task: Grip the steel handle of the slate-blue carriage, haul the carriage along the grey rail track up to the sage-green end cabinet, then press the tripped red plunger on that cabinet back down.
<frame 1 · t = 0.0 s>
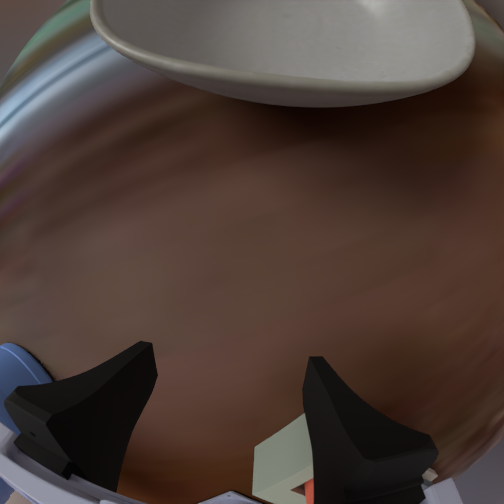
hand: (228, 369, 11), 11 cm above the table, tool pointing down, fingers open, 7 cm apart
decorative bowl: (282, 38, 20), on the table
track: (365, 467, 23), on the table
water jug: (33, 390, 25), on the table
reset plunger: (325, 486, 16), point 7 cm above the table, slide at 0.0 cm
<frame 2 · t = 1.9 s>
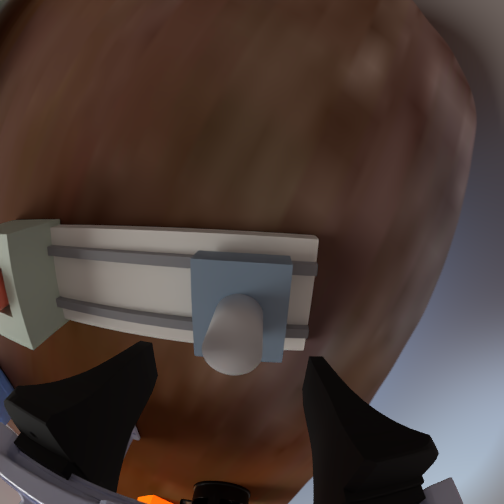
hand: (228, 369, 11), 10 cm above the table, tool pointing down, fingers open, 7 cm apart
track: (117, 277, 21), on the table
french press: (219, 490, 31), on the table
orange juice: (162, 503, 35), on the table
carriage: (237, 323, 16), point 6 cm above the table, slide at 0.0 cm
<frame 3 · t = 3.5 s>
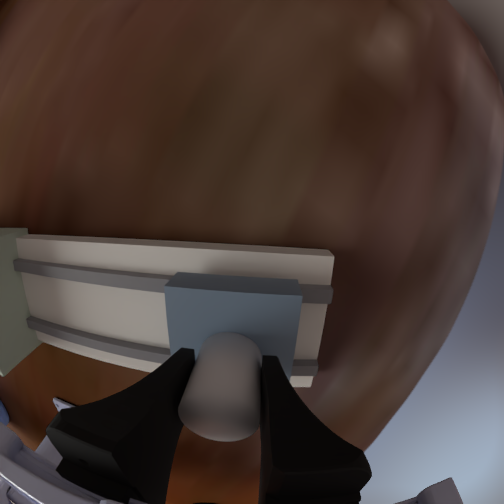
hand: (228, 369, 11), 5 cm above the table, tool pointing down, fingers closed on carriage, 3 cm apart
track: (89, 297, 17), on the table
carriage: (227, 371, 11), point 6 cm above the table, slide at 0.0 cm, touching gripper
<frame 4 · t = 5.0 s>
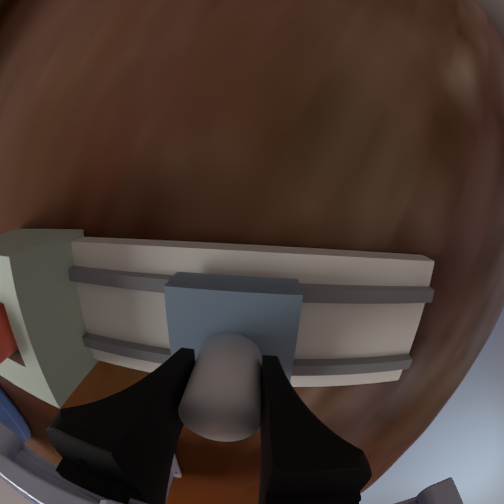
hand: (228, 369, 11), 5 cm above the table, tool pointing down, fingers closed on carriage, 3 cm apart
track: (172, 309, 17), on the table
water jug: (2, 402, 25), on the table
carriage: (228, 370, 11), point 5 cm above the table, slide at 6.7 cm, touching gripper
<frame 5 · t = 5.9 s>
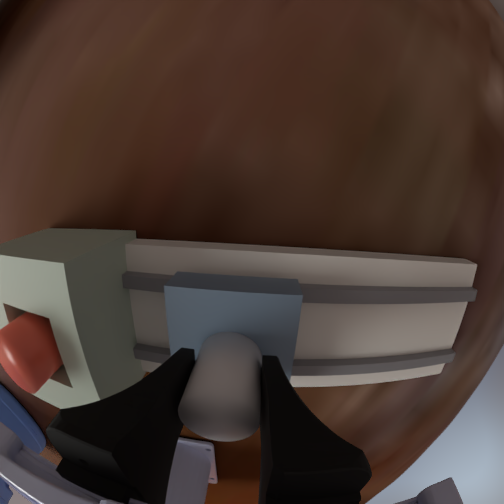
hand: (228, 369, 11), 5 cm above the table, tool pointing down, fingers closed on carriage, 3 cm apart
track: (238, 315, 17), on the table
water jug: (14, 410, 25), on the table
reset plunger: (34, 346, 10), point 7 cm above the table, slide at 0.0 cm
carriage: (227, 370, 11), point 6 cm above the table, slide at 11.0 cm, touching gripper
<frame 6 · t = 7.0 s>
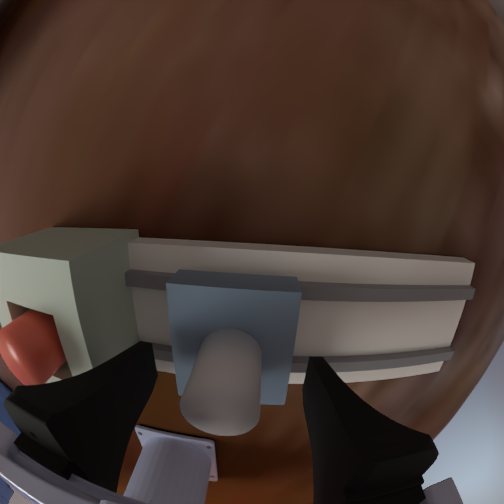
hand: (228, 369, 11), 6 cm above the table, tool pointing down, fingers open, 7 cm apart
track: (239, 312, 17), on the table
water jug: (15, 409, 25), on the table
reset plunger: (37, 343, 10), point 7 cm above the table, slide at 0.0 cm
carriage: (228, 366, 12), point 6 cm above the table, slide at 11.0 cm
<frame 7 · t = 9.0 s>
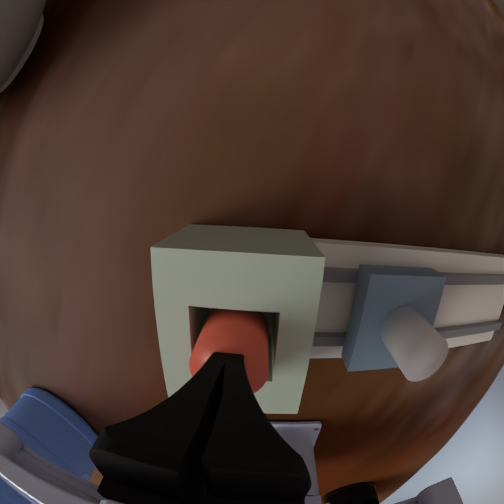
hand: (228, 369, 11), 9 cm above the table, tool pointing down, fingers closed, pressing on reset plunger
decorative bowl: (12, 52, 14), on the table
track: (376, 299, 20), on the table
water jug: (64, 422, 28), on the table
french press: (346, 493, 29), on the table
reset plunger: (232, 347, 13), point 7 cm above the table, slide at 0.1 cm, touching gripper
carriage: (405, 333, 14), point 5 cm above the table, slide at 11.0 cm
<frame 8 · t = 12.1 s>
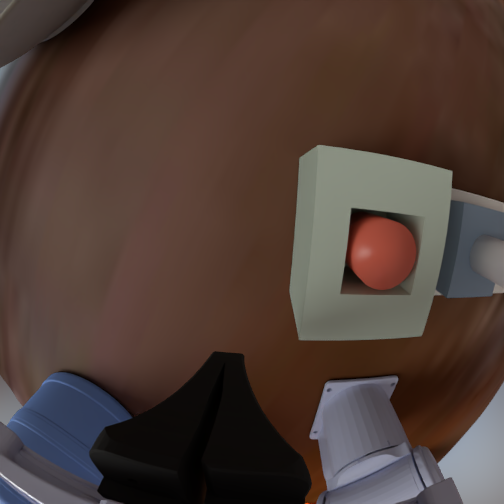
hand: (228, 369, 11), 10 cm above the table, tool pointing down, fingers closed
decorative bowl: (66, 2, 14), on the table
track: (450, 240, 19), on the table
water jug: (94, 412, 27), on the table
reset plunger: (373, 247, 14), point 5 cm above the table, slide at 1.7 cm
carriage: (489, 257, 14), point 5 cm above the table, slide at 11.0 cm
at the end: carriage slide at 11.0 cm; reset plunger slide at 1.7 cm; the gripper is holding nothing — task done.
